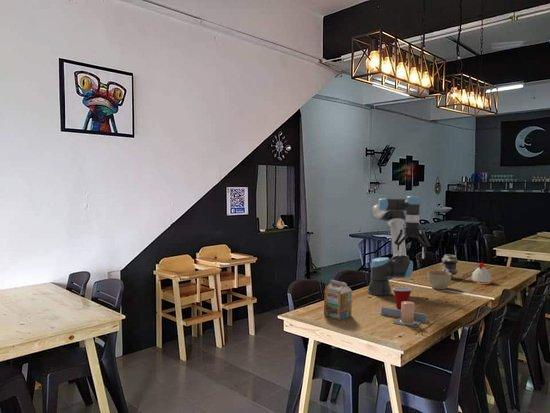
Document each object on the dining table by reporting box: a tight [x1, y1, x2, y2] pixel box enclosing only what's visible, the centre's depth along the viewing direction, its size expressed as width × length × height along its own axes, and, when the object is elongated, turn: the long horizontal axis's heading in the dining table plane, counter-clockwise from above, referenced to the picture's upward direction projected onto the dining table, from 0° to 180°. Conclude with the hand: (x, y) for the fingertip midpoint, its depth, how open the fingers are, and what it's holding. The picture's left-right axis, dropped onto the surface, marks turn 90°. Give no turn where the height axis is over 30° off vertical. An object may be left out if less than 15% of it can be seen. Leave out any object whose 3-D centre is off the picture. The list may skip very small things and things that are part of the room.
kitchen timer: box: [470, 262, 492, 283], centre depth 320 cm, size 14×14×15 cm
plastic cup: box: [392, 286, 413, 310], centre depth 248 cm, size 11×11×12 cm
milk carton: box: [323, 279, 353, 321], centre depth 232 cm, size 11×11×19 cm
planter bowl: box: [426, 270, 453, 290], centre depth 300 cm, size 16×16×11 cm
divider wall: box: [379, 306, 428, 324], centre depth 230 cm, size 24×4×4 cm, turn 58°
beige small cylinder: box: [400, 300, 415, 324], centre depth 222 cm, size 6×6×10 cm
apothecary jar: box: [440, 254, 459, 280], centre depth 333 cm, size 12×12×18 cm
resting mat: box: [392, 317, 423, 329], centre depth 222 cm, size 12×11×1 cm
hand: (411, 257), depth 256 cm, fingers open, 13 cm apart
